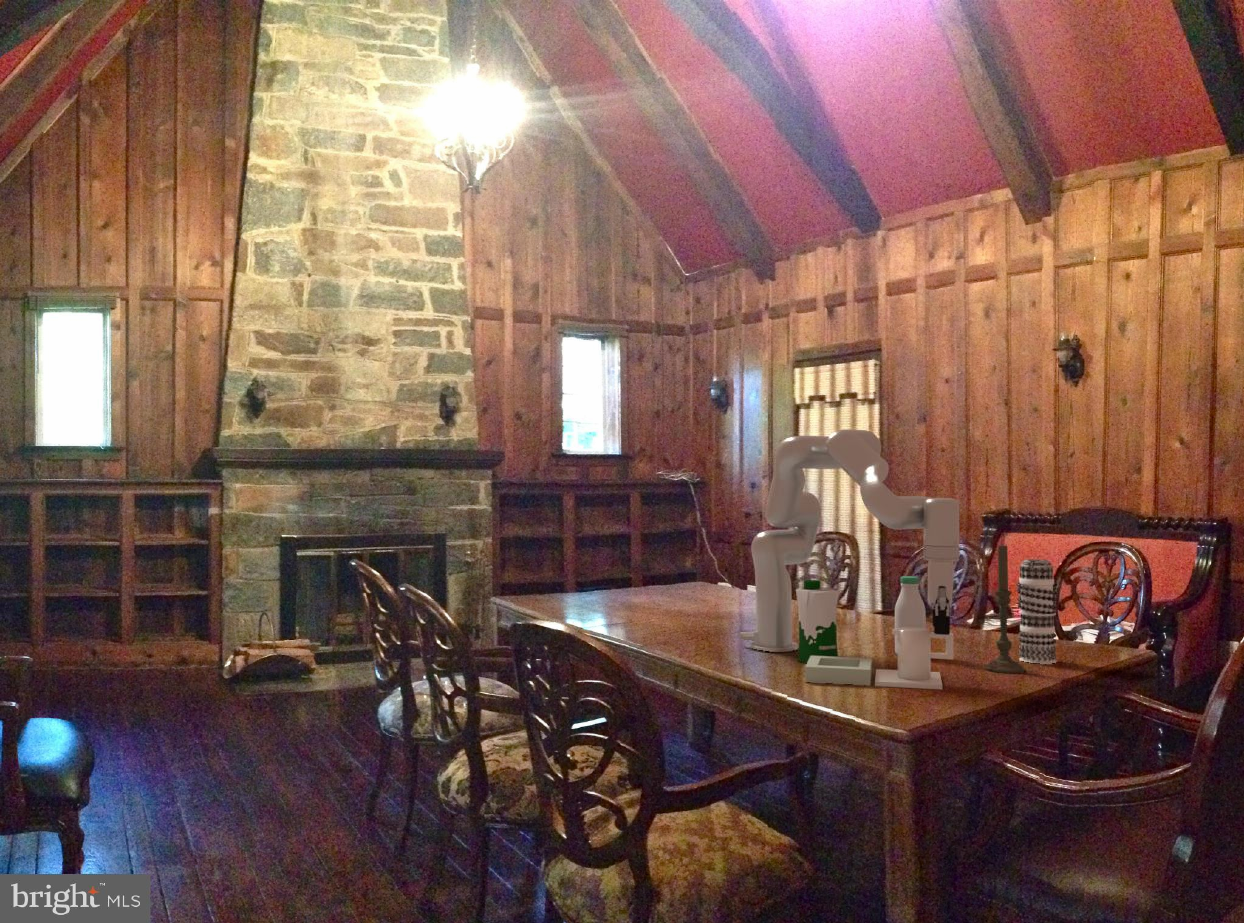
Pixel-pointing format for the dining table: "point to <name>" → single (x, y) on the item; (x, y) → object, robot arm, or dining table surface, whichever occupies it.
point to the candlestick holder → (1003, 620)
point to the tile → (906, 680)
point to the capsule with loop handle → (918, 652)
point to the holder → (839, 670)
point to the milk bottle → (909, 606)
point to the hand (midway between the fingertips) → (941, 630)
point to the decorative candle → (1037, 611)
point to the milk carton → (817, 621)
